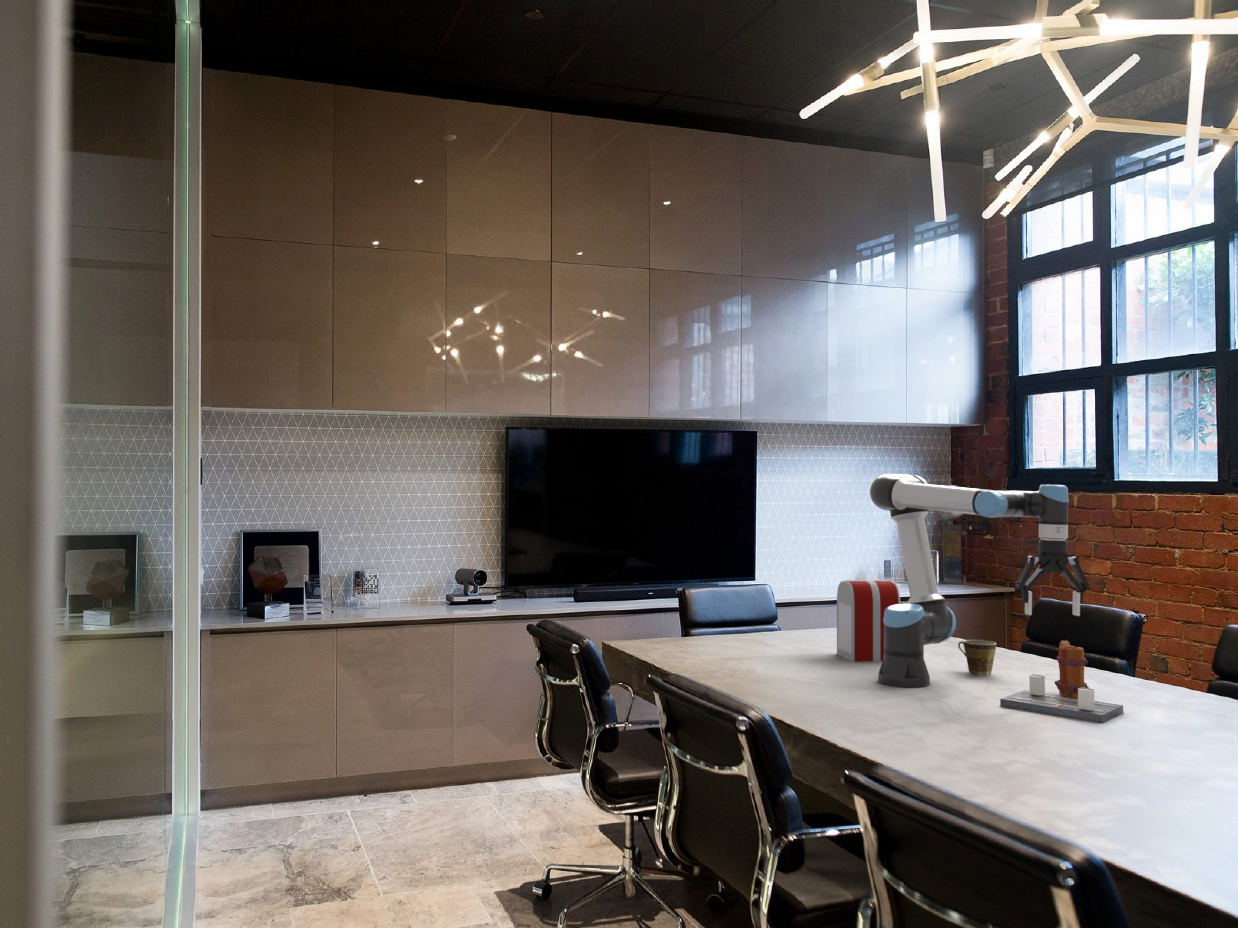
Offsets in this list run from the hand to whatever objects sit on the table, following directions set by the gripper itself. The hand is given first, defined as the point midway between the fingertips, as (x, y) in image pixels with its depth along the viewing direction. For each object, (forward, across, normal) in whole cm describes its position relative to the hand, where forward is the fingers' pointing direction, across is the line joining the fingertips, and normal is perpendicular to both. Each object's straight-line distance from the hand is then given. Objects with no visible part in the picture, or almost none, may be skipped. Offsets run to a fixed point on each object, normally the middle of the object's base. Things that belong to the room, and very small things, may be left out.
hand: (1052, 614), depth 267 cm
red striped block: (+26, -33, +67) cm, 79 cm away
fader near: (+21, -1, -21) cm, 30 cm away
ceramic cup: (+25, -6, +39) cm, 47 cm away
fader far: (+21, -6, -3) cm, 22 cm away
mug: (+24, +8, +5) cm, 26 cm away
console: (+24, -3, -12) cm, 27 cm away
